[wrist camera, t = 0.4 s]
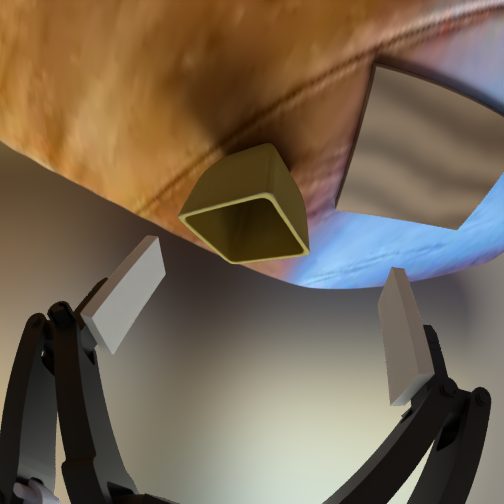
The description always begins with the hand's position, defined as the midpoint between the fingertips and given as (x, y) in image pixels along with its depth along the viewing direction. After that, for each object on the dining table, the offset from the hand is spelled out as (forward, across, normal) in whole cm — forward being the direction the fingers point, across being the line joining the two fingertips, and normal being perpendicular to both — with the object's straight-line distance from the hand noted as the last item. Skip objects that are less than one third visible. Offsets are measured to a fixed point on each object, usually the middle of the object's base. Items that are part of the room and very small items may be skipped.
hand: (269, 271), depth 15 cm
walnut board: (+15, +15, +4) cm, 22 cm away
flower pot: (+16, -4, +1) cm, 16 cm away
